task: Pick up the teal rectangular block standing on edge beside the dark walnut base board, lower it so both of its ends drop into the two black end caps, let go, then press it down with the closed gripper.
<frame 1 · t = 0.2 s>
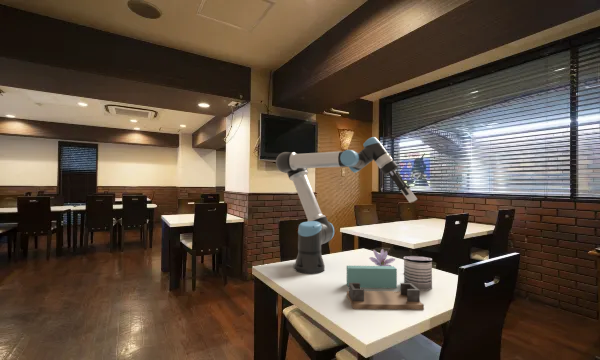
hand: (413, 201, 127), 35 cm above the table, tool tilted 35°, fingers open, 13 cm apart
endcap board: (382, 301, 98), on the table
water lily: (383, 272, 133), on the table
can: (417, 286, 115), on the table
teal rectangular block: (371, 286, 114), on the table
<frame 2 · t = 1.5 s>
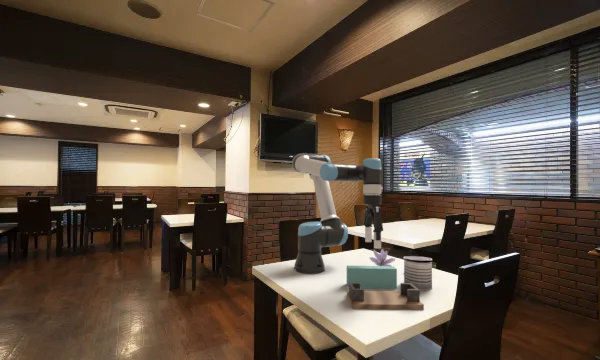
hand: (372, 245, 115), 17 cm above the table, tool pointing down, fingers open, 13 cm apart
nothing on the table moved.
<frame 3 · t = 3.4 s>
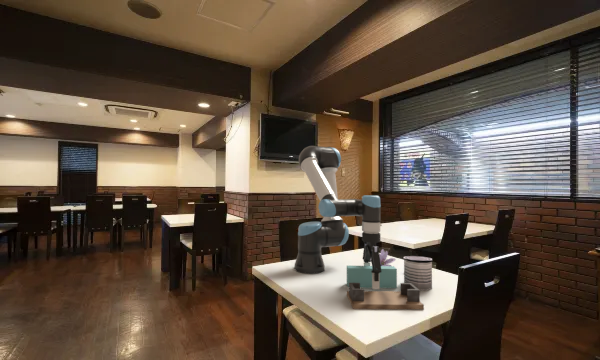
hand: (371, 282, 114), 1 cm above the table, tool pointing down, fingers open, 13 cm apart
nothing on the table moved.
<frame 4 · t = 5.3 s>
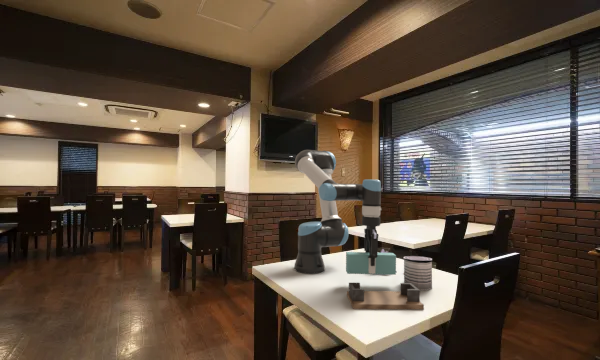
hand: (370, 271, 115), 6 cm above the table, tool pointing down, fingers closed on teal rectangular block, 4 cm apart
teal rectangular block: (370, 272, 115), point 5 cm above the table, touching gripper
everything else where it was.
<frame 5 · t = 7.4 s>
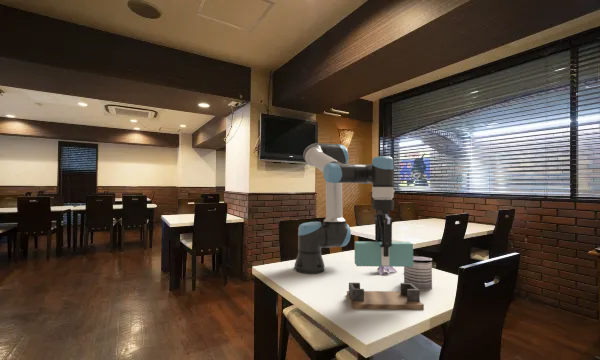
hand: (383, 263, 99), 14 cm above the table, tool pointing down, fingers closed on teal rectangular block, 4 cm apart
teal rectangular block: (383, 264, 99), point 13 cm above the table, touching gripper
everything else where it was.
when the fingers open (2 cm above the table, at t = 9.7 s): teal rectangular block stays where it is, resting on endcap board.
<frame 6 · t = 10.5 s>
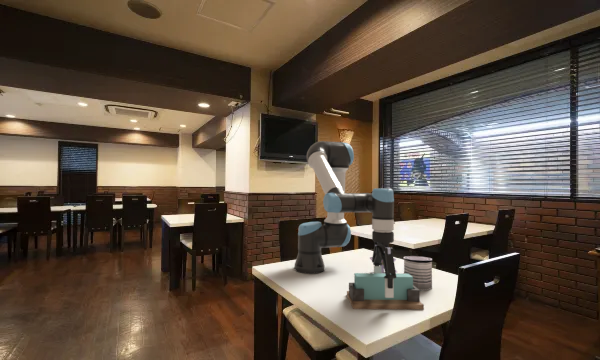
hand: (382, 289, 98), 4 cm above the table, tool pointing down, fingers open, 13 cm apart
teal rectangular block: (383, 297, 98), point 1 cm above the table, touching endcap board
everything else where it was.
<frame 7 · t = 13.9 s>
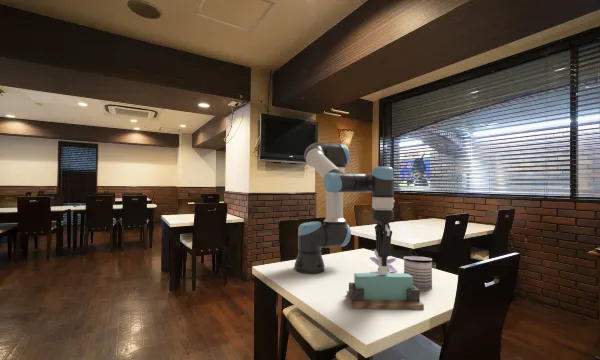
hand: (382, 274, 99), 10 cm above the table, tool pointing down, fingers closed
teal rectangular block: (383, 297, 98), point 1 cm above the table, touching endcap board, gripper
everything else where it was.
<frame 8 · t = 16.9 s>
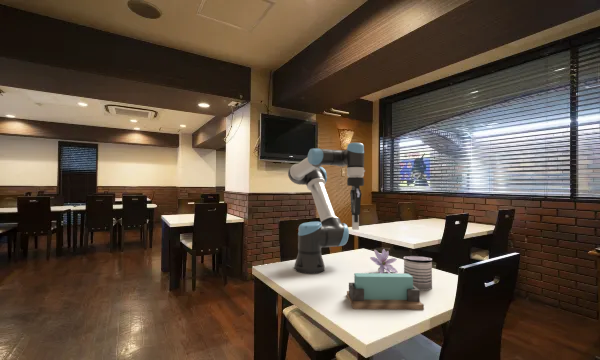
hand: (355, 229, 123), 22 cm above the table, tool pointing down, fingers closed
teal rectangular block: (383, 297, 98), point 1 cm above the table, touching endcap board
everything else where it was.
at the end: teal rectangular block 0.1 cm off-centre on the endcap board, point 1.5 cm above the endcap board's base; teal rectangular block tilted 0°; the gripper is holding nothing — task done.
